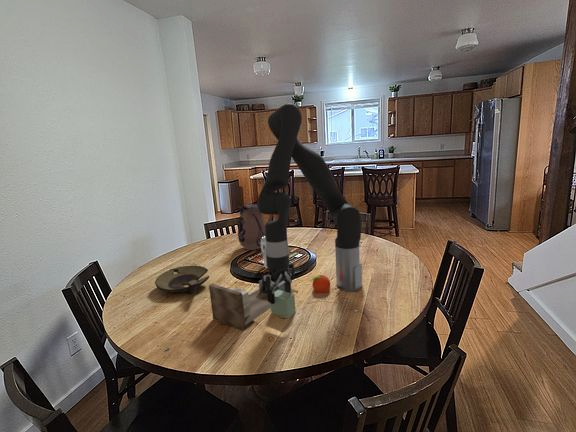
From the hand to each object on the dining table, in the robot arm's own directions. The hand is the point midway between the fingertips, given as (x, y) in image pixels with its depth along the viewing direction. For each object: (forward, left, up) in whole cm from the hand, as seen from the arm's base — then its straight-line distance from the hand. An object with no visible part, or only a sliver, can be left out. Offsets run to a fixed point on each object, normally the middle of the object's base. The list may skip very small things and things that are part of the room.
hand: (280, 297), depth 108 cm
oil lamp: (+50, +4, -7) cm, 51 cm away
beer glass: (+31, -31, -7) cm, 44 cm away
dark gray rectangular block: (+12, -11, -5) cm, 17 cm away
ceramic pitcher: (+59, -53, -7) cm, 80 cm away
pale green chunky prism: (-1, 0, -7) cm, 7 cm away
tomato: (-3, -21, -7) cm, 22 cm away
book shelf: (+12, -1, -6) cm, 14 cm away
